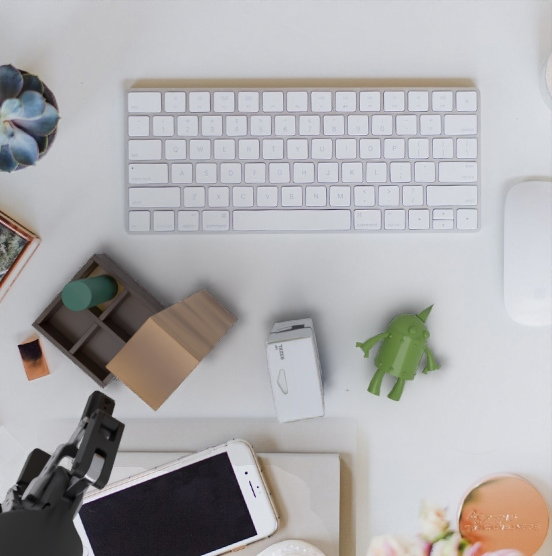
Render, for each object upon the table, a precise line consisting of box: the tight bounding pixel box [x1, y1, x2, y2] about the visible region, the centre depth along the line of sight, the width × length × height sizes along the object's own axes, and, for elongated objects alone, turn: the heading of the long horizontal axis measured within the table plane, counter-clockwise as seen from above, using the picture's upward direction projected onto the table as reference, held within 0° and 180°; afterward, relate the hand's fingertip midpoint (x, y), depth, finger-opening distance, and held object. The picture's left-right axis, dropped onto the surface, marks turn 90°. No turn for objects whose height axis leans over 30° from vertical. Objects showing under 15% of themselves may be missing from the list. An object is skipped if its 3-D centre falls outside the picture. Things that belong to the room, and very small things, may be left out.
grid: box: [31, 252, 167, 389], centre depth 67 cm, size 11×11×3 cm
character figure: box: [355, 303, 441, 402], centre depth 65 cm, size 12×5×12 cm
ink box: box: [265, 317, 326, 425], centre depth 62 cm, size 8×5×12 cm, turn 9°
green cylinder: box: [61, 275, 118, 311], centre depth 63 cm, size 3×3×8 cm
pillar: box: [106, 288, 238, 412], centre depth 57 cm, size 6×6×22 cm
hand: (72, 426), depth 50 cm, fingers open, 8 cm apart
